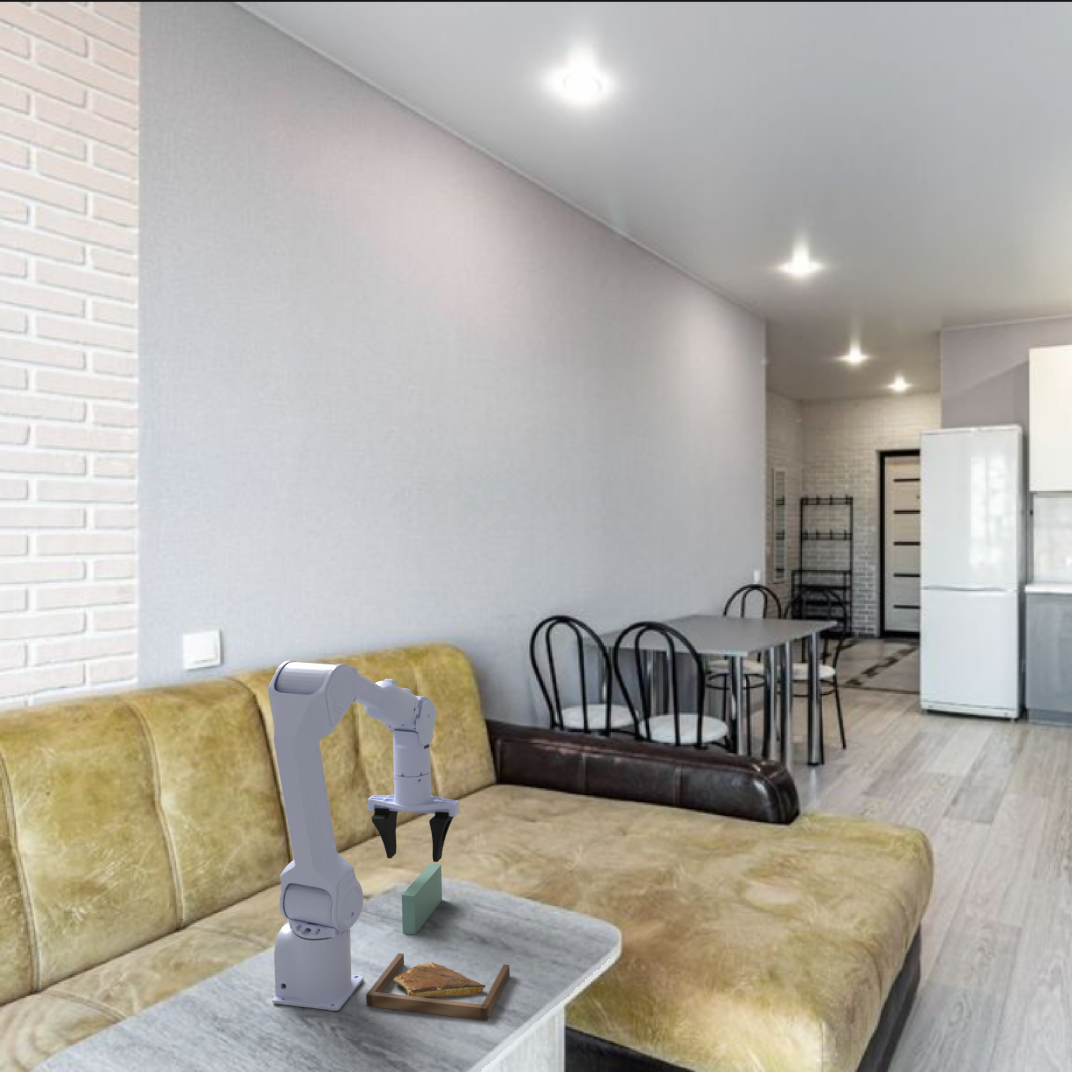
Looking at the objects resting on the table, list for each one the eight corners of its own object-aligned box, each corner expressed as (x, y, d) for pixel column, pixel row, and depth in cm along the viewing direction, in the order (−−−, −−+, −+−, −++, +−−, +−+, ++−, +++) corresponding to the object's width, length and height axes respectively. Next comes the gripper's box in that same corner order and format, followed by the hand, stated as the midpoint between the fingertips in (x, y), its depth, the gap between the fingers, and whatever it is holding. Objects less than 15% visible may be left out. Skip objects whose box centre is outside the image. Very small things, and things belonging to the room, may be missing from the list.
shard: (486, 996, 117) (486, 983, 117) (444, 1023, 111) (444, 1008, 111) (430, 969, 124) (429, 957, 124) (387, 993, 118) (387, 980, 118)
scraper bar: (415, 935, 133) (414, 896, 133) (402, 934, 134) (401, 895, 134) (442, 900, 145) (441, 864, 145) (430, 899, 145) (429, 863, 145)
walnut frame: (366, 1005, 114) (366, 994, 114) (398, 963, 125) (398, 953, 125) (486, 1020, 110) (486, 1008, 110) (509, 975, 121) (509, 964, 121)
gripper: (464, 766, 140) (466, 851, 141) (379, 762, 144) (381, 844, 144) (449, 780, 134) (451, 868, 134) (360, 775, 137) (363, 861, 137)
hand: (414, 857), depth 139 cm, fingers open, 7 cm apart
